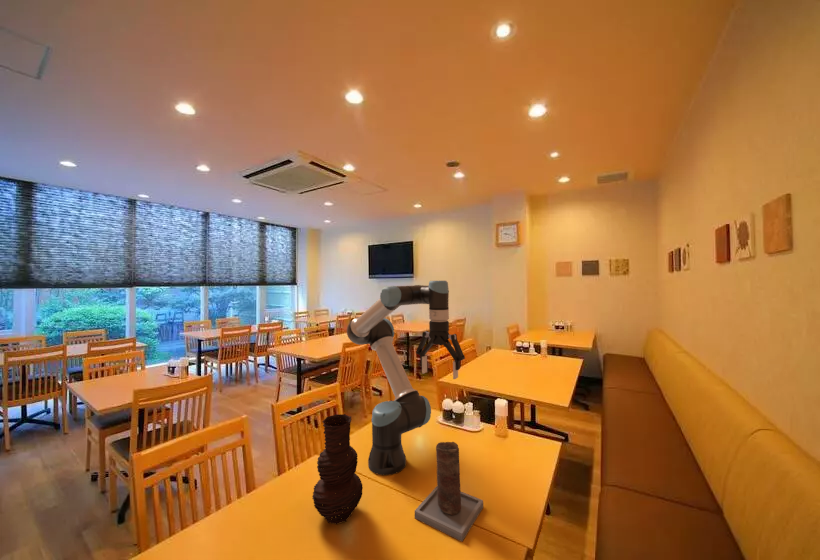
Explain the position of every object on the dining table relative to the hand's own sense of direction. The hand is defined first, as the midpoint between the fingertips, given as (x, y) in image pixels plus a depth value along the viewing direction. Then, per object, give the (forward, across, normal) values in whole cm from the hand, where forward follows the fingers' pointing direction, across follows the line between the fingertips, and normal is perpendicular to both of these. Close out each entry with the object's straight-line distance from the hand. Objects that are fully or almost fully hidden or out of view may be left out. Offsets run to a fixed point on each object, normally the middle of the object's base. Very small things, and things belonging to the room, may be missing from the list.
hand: (439, 375), depth 122 cm
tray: (+37, +13, -18) cm, 43 cm away
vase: (+37, -16, -38) cm, 55 cm away
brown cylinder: (+35, +13, -18) cm, 42 cm away
